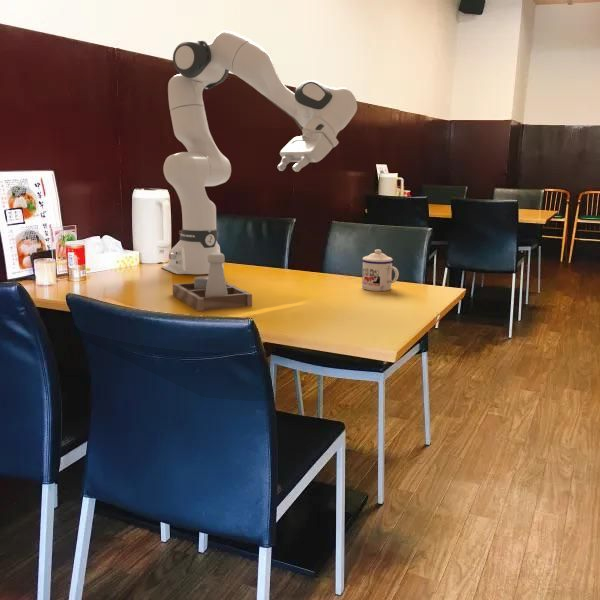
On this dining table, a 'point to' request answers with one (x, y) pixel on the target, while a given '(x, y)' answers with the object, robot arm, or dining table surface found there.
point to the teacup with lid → (378, 272)
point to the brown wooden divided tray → (212, 297)
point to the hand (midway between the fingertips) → (287, 169)
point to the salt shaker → (216, 276)
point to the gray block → (200, 282)
